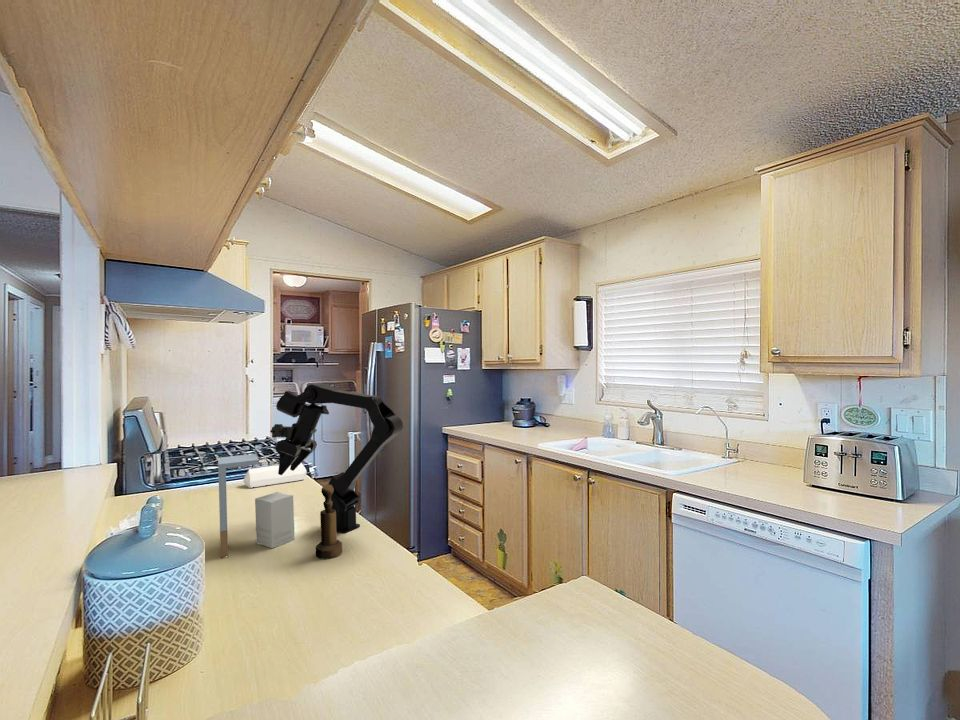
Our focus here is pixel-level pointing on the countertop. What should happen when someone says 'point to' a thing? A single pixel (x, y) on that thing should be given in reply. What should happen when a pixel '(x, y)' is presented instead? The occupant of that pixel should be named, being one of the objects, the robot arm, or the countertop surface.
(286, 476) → the white faceted cylinder
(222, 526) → the inverted l-shaped post
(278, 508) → the supplement box
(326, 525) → the brown chess piece
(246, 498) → the countertop surface
